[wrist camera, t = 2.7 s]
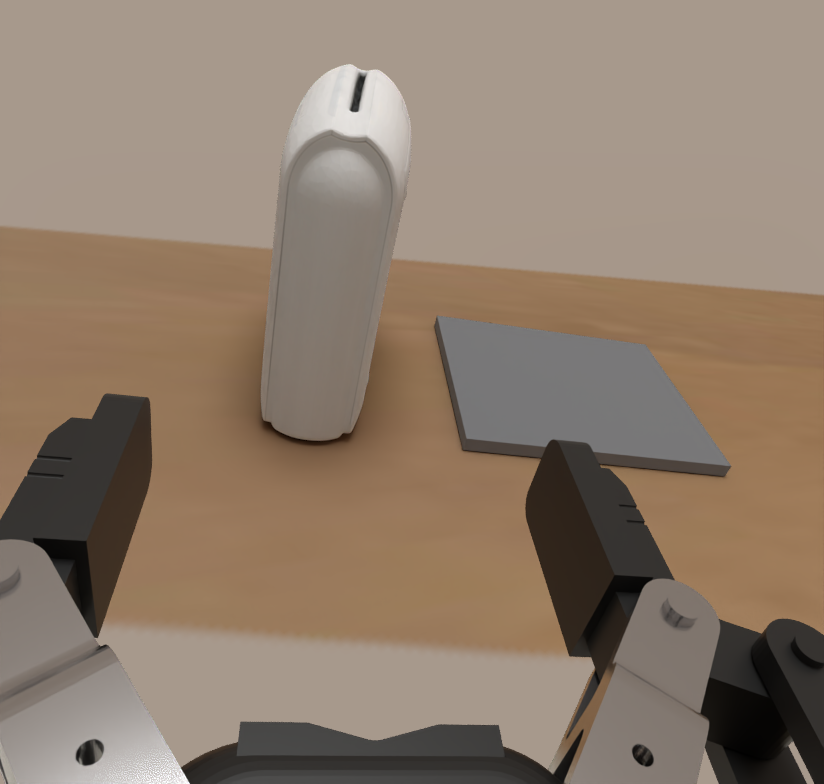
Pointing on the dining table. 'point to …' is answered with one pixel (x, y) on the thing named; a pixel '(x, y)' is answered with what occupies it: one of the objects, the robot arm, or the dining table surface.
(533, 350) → the rubber mat
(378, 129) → the photo printer
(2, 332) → the dining table surface
